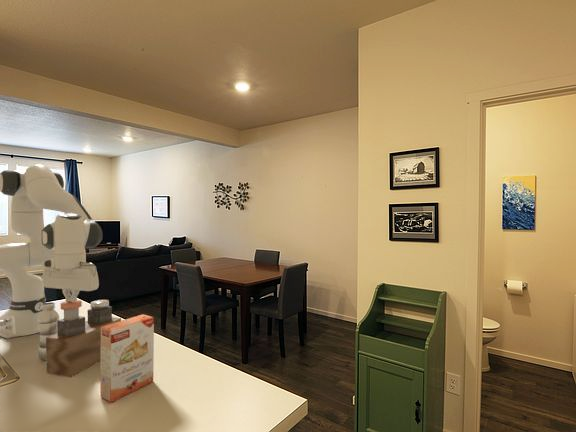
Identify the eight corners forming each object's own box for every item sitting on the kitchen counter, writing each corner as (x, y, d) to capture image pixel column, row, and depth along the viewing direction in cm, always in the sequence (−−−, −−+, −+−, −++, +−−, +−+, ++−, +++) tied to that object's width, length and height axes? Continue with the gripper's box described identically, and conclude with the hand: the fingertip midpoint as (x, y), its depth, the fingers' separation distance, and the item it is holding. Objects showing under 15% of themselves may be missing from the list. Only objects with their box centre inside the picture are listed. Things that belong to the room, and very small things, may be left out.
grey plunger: (86, 320, 122) (86, 303, 122) (99, 315, 128) (99, 299, 128) (100, 322, 120) (99, 304, 120) (112, 317, 126) (112, 300, 126)
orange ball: (56, 323, 110) (56, 304, 110) (72, 317, 116) (72, 299, 116) (70, 324, 109) (70, 305, 109) (86, 318, 115) (85, 300, 114)
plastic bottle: (49, 363, 116) (48, 307, 115) (33, 361, 117) (32, 305, 117) (64, 355, 122) (64, 301, 122) (49, 353, 124) (48, 300, 123)
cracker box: (111, 404, 92) (110, 330, 92) (99, 397, 96) (98, 326, 95) (155, 381, 104) (154, 316, 104) (143, 376, 108) (142, 313, 107)
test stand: (46, 373, 109) (45, 322, 109) (100, 345, 131) (99, 303, 130) (70, 377, 107) (70, 325, 106) (121, 348, 128) (120, 305, 128)
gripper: (103, 261, 112) (103, 301, 113) (55, 258, 117) (56, 297, 118) (87, 264, 106) (88, 307, 107) (38, 261, 111) (39, 302, 112)
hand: (71, 302), depth 112 cm, fingers closed
